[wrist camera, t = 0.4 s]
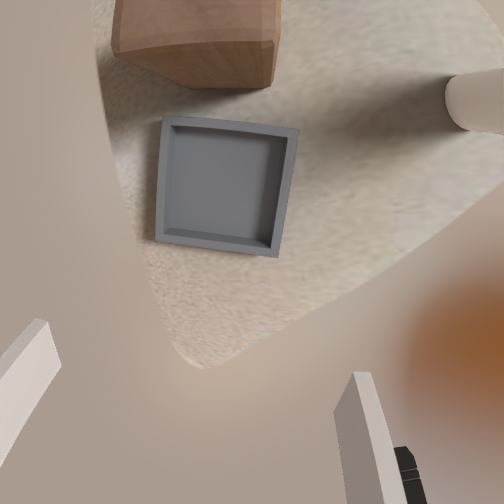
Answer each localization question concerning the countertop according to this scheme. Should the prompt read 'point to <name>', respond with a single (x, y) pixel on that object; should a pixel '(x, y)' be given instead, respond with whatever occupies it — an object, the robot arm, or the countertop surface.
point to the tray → (223, 184)
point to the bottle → (477, 101)
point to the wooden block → (200, 40)
